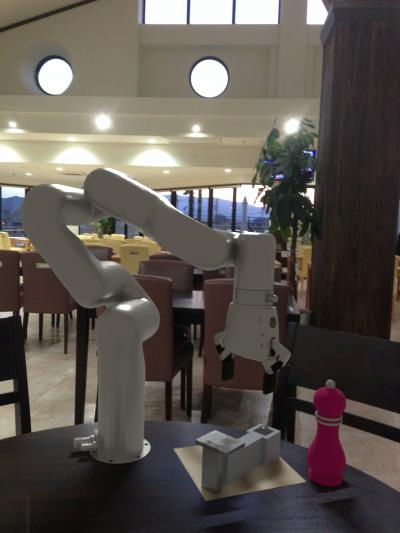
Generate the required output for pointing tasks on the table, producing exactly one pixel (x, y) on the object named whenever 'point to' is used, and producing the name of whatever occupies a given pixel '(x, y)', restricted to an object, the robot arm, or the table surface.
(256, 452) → the link
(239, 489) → the base board
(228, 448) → the block
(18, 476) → the table surface
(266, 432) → the post
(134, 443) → the robot arm
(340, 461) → the pepper mill
